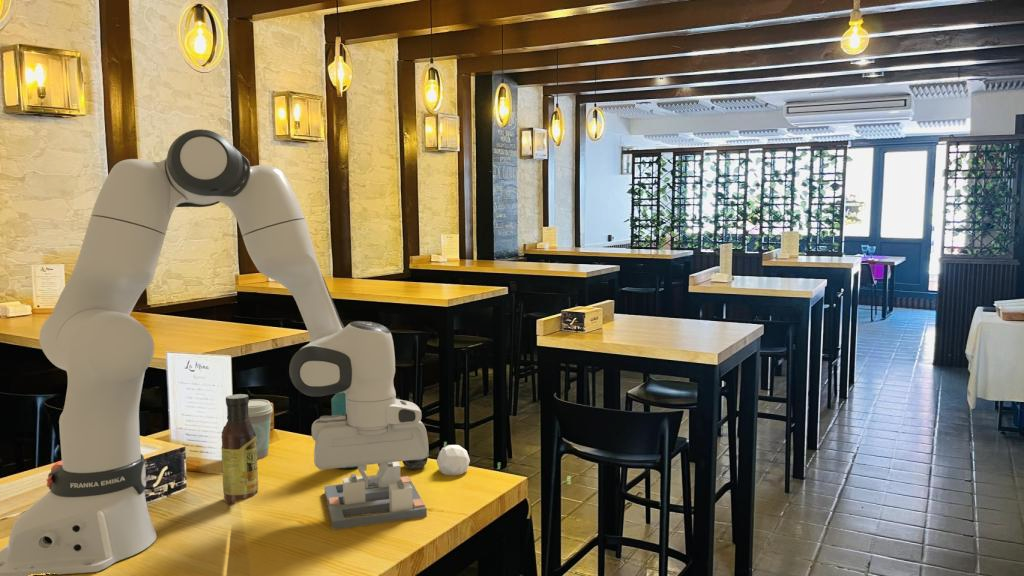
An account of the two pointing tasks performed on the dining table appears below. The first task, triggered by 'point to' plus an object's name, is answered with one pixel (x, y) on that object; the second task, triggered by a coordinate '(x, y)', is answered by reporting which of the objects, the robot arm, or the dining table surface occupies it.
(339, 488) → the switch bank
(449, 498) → the dining table surface
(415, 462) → the grey tower figurine
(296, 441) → the dining table surface
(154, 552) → the dining table surface
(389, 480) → the tab
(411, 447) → the robot arm
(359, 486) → the tab
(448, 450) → the ornament
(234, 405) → the sauce bottle
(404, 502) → the tab
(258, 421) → the coffee cup
